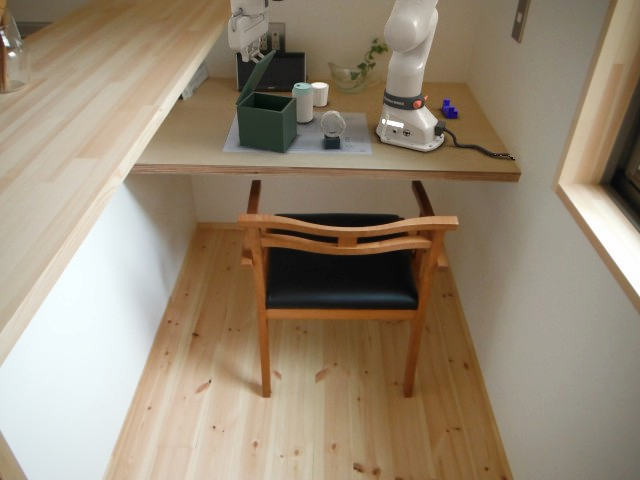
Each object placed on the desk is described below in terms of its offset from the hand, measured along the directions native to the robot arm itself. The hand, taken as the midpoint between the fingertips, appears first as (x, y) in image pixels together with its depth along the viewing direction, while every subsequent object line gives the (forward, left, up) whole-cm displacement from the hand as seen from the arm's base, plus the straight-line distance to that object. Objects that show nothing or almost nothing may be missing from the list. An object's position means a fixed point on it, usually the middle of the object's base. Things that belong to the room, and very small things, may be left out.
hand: (251, 57), depth 133 cm
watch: (-21, -12, -26) cm, 35 cm away
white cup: (+2, -36, -26) cm, 44 cm away
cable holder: (-40, -59, -26) cm, 76 cm away
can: (-2, -21, -26) cm, 33 cm away
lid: (-1, 0, -6) cm, 6 cm away
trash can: (-4, -1, -26) cm, 26 cm away
